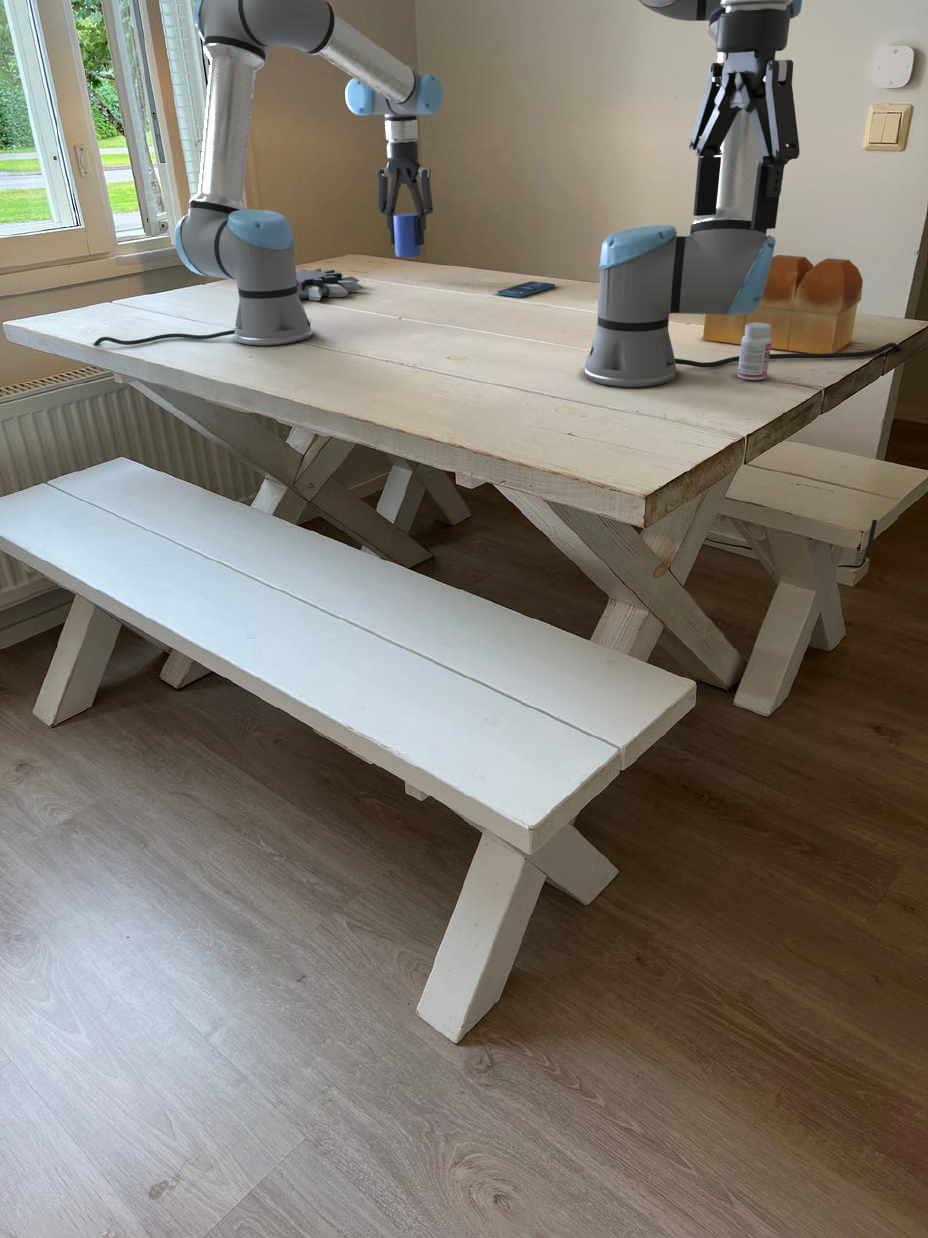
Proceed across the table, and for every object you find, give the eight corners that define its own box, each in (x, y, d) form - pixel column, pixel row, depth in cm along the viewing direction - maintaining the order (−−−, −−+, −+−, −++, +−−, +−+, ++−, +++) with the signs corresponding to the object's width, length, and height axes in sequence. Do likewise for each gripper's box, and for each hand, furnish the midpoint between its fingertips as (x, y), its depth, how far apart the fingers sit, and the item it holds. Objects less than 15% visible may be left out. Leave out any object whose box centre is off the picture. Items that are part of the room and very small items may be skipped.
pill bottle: (768, 380, 155) (775, 328, 150) (738, 380, 155) (744, 328, 151) (765, 372, 159) (772, 321, 155) (736, 372, 160) (742, 321, 155)
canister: (425, 254, 236) (424, 214, 231) (404, 257, 233) (402, 216, 228) (411, 251, 241) (409, 212, 236) (390, 254, 237) (388, 214, 233)
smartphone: (494, 291, 222) (531, 280, 232) (494, 294, 222) (531, 283, 232) (521, 295, 218) (557, 283, 228) (521, 297, 218) (557, 286, 228)
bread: (700, 339, 180) (707, 257, 172) (725, 326, 188) (734, 247, 181) (832, 356, 167) (847, 268, 159) (853, 341, 175) (868, 257, 168)
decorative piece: (302, 291, 211) (212, 280, 226) (304, 309, 213) (214, 296, 228) (388, 270, 232) (300, 260, 247) (389, 286, 234) (302, 276, 249)
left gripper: (445, 139, 223) (448, 243, 235) (373, 139, 230) (380, 240, 242) (432, 141, 217) (436, 247, 229) (358, 141, 224) (366, 244, 236)
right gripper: (670, 16, 111) (657, 211, 122) (788, 0, 90) (759, 237, 101) (727, 15, 113) (709, 208, 123) (856, 0, 92) (821, 232, 102)
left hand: (407, 243), depth 235 cm, fingers closed on canister, 6 cm apart
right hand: (732, 221), depth 112 cm, fingers open, 13 cm apart
